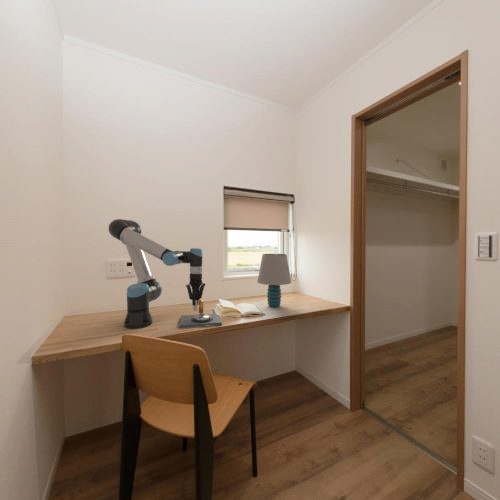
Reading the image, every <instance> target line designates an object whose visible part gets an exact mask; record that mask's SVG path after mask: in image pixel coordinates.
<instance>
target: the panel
mask: <svg viewBox="0 0 500 500" xmlns="http://www.w3.org/2000/svg"><path fill="white" fill-rule="evenodd" d="M208 314H209V315H210V316H211V319H210V320H208V321H195V320H194V316H195V315H196V314H186V315H185V314H184V315H183V314H182V315H180V321H179V325H178V326H179V329H185V328H187V327H188V328H197V327H196V326H202V327H206V326H205V325H216V326H222V325H223V321H222V319H221V318H222V317H221V315H220V314H219V315H220V316H219V315H217V314H216V312H215V313H208Z"/></svg>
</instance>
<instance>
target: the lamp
mask: <svg viewBox="0 0 500 500" xmlns="http://www.w3.org/2000/svg"><path fill="white" fill-rule="evenodd" d="M289 267H290V266H289V261H288V256H287V254H286V253H263V254H262V256H261V259H260V266H259V271H258V276H257V283H258V284H261V285H267V293H266V294H267V296H266V297H267V304H268V307H269V308H280V306H281V302H282V292H281V291H282V288H281V286H285V285H289V284H292V278H291V273H290V268H289Z"/></svg>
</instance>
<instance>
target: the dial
mask: <svg viewBox="0 0 500 500" xmlns="http://www.w3.org/2000/svg"><path fill="white" fill-rule="evenodd" d="M209 314H210V313H204V300H203V299H200V300H199V301H198V314H194V315H195V316H194V320H195V321H208V320H210V319H211V316H210V315H209Z"/></svg>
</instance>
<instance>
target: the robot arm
mask: <svg viewBox="0 0 500 500" xmlns="http://www.w3.org/2000/svg"><path fill="white" fill-rule="evenodd" d="M107 228H108V233H109V234H110V235H111V236H112V237H113V238H114V239H116V240H119V241H120V242H121V243H122V245H125V246H126V250H127V253H128V256H129V259H130V262H131V264H132V266H133V270H134V272H135V275H136V279H137V282H136V283H133V284H131V285H129V286H128V287H127V289H126V305H127V306H126V308H127V309H126V310H127V312H126V315H125V317H124V318H125V319H124V321H123V322H124V323H123V326H124V328H127V329H141V328H146V327H148V326H150V325H151V324H153V318H152V315H151V312H150V302H152V301H155V300H157V299H158V298H159V297H160V296H161V295H162V292H163V288H162V287H163V286H162V285H161V283H160V282H158V281H157V279H156V277H155V276H153V275H152V272H151V269H150V266H149V264H148V261H147V258H146V255H145V253H147V254H148V255H150V256H152V257H154V258H156V259H158V260H160V261H162V263H163V264H165V265H166V266H168V267H169V266H170V267H172V266H175V265H179V264H189V282H188V283H187V284H185V288H187V294H188V298H189V300H191V301H192V306H193V311H195V312H197V311H198V306H199V300H202V298H203V297H202V296H203V293H204V288H205V286H206V283H204V282H203V280H202V279H203V249H202V248H199V247H198V248H196V247H195V248H193V247H192V248H190V250H189V251H186V250H185V251H184V250H183V251H182V250H171V249H169V248H167V247H165V246H164V245H161V244H160V243H158V242H156V241H154V240H153V239H150V238H148V237H146V236H145V235H142V227H141V225H140V224H139V222H136V221H134V220H132V219H122V218H117V219H114V220H112V221H110V223H109V224H108V227H107Z"/></svg>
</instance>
